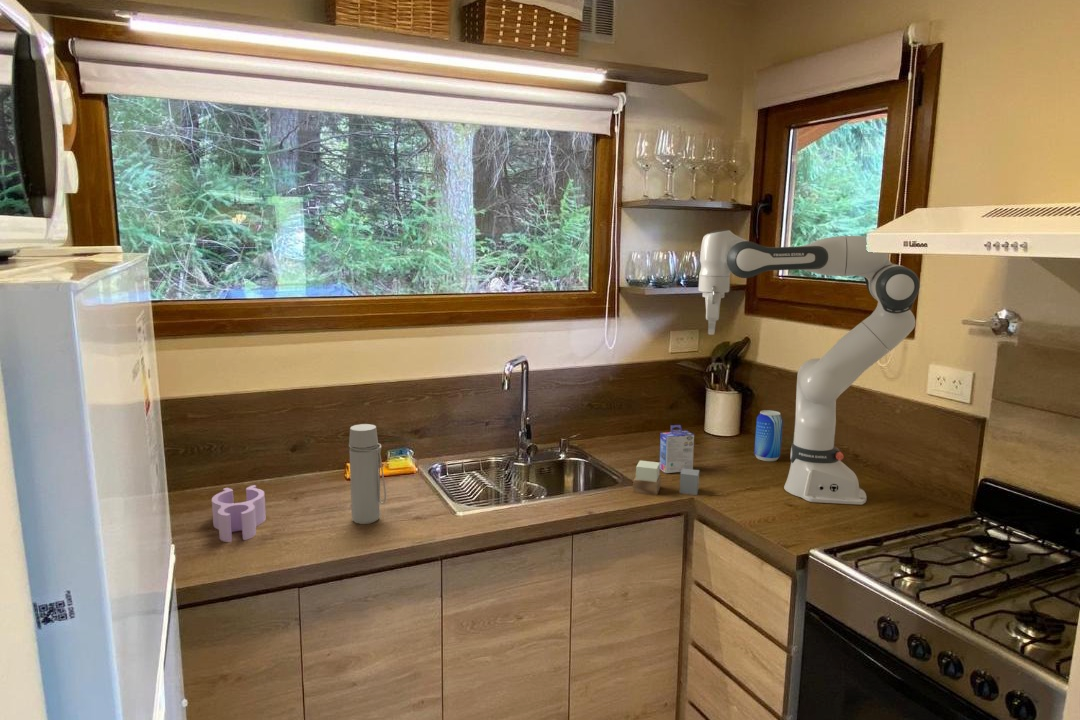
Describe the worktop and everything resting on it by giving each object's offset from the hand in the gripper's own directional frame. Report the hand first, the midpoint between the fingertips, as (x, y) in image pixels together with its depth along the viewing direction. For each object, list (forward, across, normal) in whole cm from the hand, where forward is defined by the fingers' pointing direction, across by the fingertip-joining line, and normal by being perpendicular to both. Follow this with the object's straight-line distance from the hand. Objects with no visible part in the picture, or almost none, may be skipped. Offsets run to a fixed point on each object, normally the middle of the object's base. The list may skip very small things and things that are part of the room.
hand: (711, 332), depth 209 cm
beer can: (+46, +28, -21) cm, 58 cm away
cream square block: (+42, -13, +16) cm, 47 cm away
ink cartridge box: (+46, +7, +9) cm, 48 cm away
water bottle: (+46, -56, +84) cm, 111 cm away
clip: (+46, -67, +114) cm, 141 cm away
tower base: (+46, -13, +16) cm, 51 cm away
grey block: (+46, -11, +4) cm, 48 cm away
